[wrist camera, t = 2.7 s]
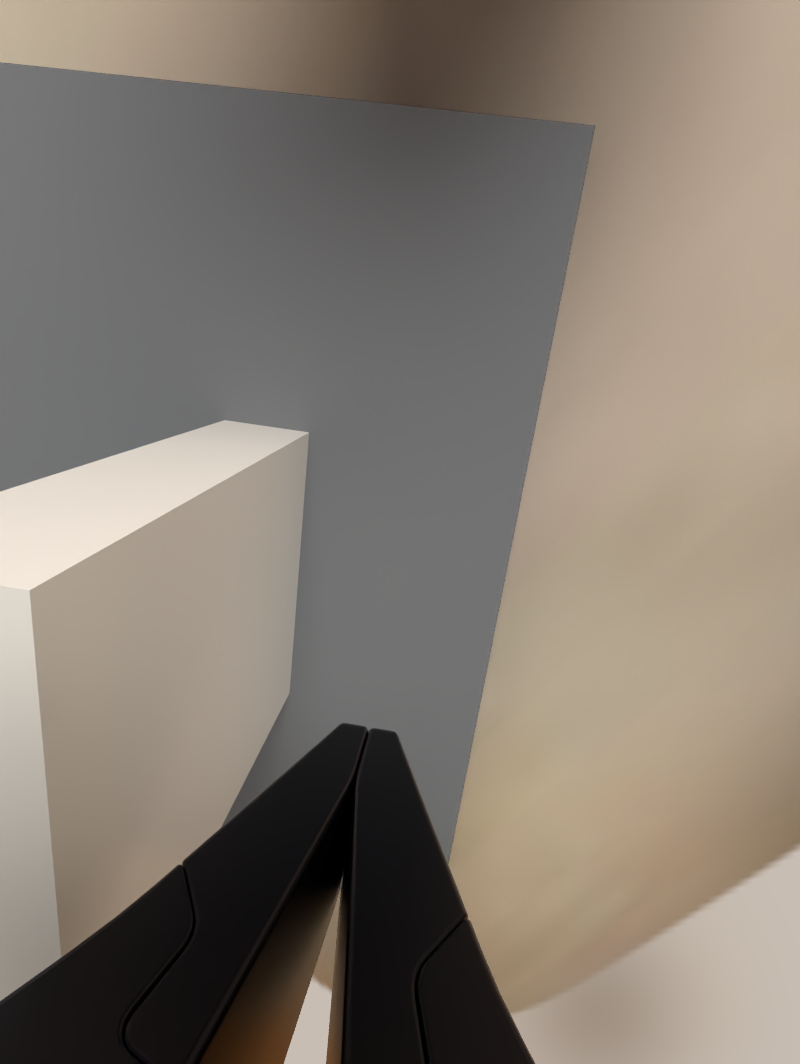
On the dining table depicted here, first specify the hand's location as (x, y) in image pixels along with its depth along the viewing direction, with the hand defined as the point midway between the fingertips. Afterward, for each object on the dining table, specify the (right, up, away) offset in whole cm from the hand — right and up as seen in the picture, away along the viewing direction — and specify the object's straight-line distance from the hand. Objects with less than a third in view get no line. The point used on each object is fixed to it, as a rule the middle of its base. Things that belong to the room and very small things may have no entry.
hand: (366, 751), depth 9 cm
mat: (-7, +3, +7) cm, 10 cm away
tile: (-3, +2, +6) cm, 7 cm away
